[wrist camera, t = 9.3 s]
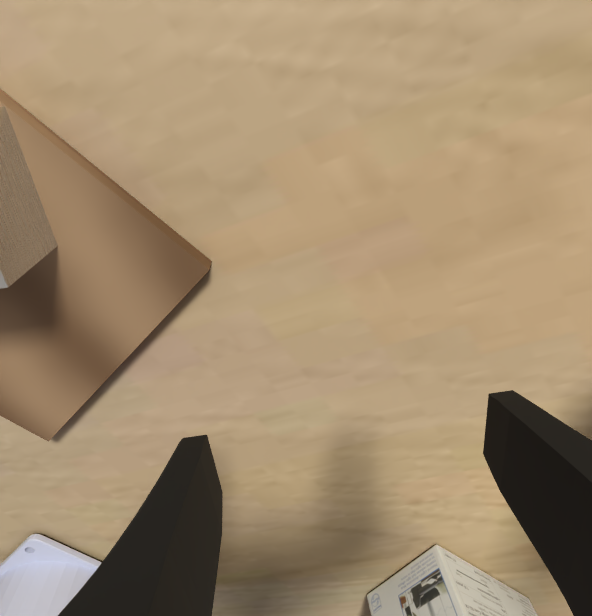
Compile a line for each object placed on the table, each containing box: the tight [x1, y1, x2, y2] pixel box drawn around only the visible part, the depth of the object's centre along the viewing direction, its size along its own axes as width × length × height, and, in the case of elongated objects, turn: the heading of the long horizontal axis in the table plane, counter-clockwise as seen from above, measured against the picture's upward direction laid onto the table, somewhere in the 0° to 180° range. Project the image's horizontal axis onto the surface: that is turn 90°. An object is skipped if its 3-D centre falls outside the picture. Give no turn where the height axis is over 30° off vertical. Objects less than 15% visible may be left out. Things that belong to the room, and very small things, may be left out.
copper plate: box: [0, 89, 212, 441], centre depth 19 cm, size 12×12×1 cm
